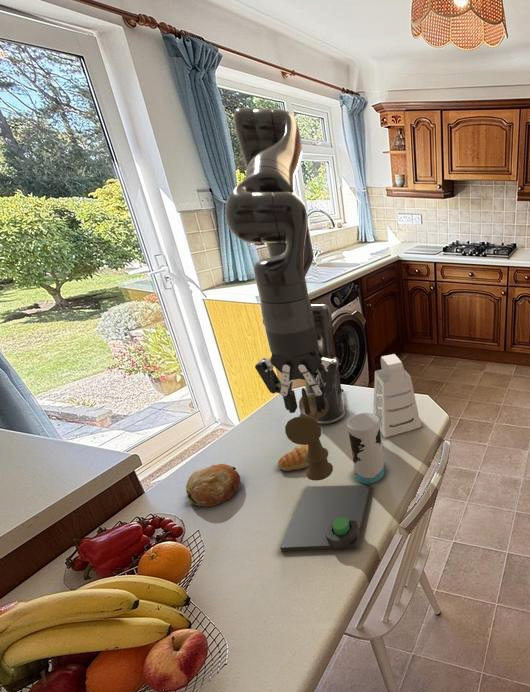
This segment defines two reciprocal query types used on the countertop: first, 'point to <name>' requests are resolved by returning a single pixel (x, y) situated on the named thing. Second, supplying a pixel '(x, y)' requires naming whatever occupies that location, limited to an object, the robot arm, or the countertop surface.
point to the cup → (366, 447)
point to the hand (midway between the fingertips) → (307, 409)
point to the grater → (394, 397)
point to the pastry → (294, 459)
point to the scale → (327, 518)
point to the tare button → (341, 526)
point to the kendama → (310, 436)
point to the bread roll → (212, 485)
